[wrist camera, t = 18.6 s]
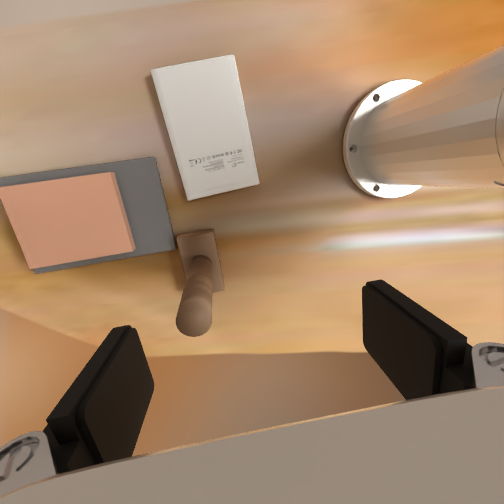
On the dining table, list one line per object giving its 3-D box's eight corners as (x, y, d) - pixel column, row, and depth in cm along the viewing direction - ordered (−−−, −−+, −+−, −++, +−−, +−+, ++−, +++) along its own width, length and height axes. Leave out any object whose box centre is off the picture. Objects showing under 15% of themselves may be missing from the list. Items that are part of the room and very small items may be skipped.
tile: (109, 172, 25) (-5, 187, 23) (132, 251, 27) (30, 269, 26) (114, 172, 26) (7, 187, 25) (136, 248, 28) (38, 265, 27)
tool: (213, 228, 30) (213, 267, 17) (223, 283, 32) (231, 357, 19) (178, 234, 30) (150, 279, 16) (191, 289, 32) (176, 369, 18)
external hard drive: (233, 61, 26) (258, 184, 30) (153, 76, 26) (188, 200, 29) (234, 53, 25) (260, 184, 28) (149, 69, 24) (187, 201, 28)
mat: (155, 157, 27) (153, 156, 26) (176, 247, 30) (175, 249, 29) (1, 178, 26) (-5, 178, 25) (39, 271, 28) (35, 274, 28)
